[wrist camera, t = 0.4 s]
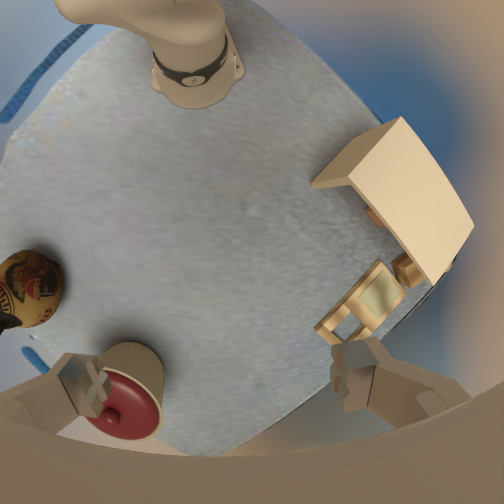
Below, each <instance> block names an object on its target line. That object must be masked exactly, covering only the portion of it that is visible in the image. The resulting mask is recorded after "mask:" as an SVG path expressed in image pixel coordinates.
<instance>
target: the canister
mask: <svg viewBox="0 0 504 504" xmlns="http://www.w3.org/2000/svg"><path fill="white" fill-rule="evenodd" d="M100 358H101V359H102V361H103V363H104V368H103V371H104V372H105V373H106V374H107V375H108V376H109V379H110V382H111V393H110V395H109V397H108V399H107V400H105V401H103V402H102V403H103V406H104V407H103V409H102V411H101V412H100V414H99V416H98V418H93V417H86V416H84V418H85V419H86V420H87V421H88V422H89V423H91V424H92V425H93V426H94V427H96V428H97V429H98V430H100V431H102V432H103V433H105V434H107V435H109V436H112V437H114V438H118V439H121V440H127V441H142V440H146V439H149V438H151V437H153V436H155V435H156V434H157V433H158V432H159V431H160V429H161V427H162V425H163V411H162V398H163V388H164V370H163V366H162V364H161V361H160V360H159V358H158V357H157V356H156V354H154V352H153V351H151V350H150V349H149V348H147V347H146V346H144V345H141V344H138V343H136V342H122V343H118V344H116V345H114V346H113V347H111V348H110V349H109V350H108V351H106V352H105V353H104V354H103V355H102V356H101V357H100Z"/></svg>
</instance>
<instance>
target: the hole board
mask: <svg viewBox="0 0 504 504" xmlns="http://www.w3.org/2000/svg"><path fill="white" fill-rule="evenodd" d="M406 294H407V293H406V291H405V290H404V289H403V287H402V286H401V285H400V284H399V282H398V281H397V280H396V279H395V277H394V276H393V275H392V274H391V272H390V271H389V270H388V269H387V268H386V266H385V265H384V264H383V263H382V262H381V261H379V260H376V261H375V263H374V264H373V265H372V266H371V267H370V268H369V270H368V271H367V272H366V273H365V274H364V275H363V276H362V277H361V279H360V280H359V281H358V282H357V283H356V284H355V285H354V286H353V287H352V289H351V290H350V291H349V292H348V293H347V294H346V295H345V296H344V297H343V298H342V299H341V301H340V302H339V303H338V304H337V305H336V306H335V307H334V308H333V309H332V310H331V311H330V312H329V313H328V314H327V315H326V316H325V317H324V318H323V319H322V320H321V321H320V322H319V323H318V324H317V325H316V326H315V327H314V329H315V331H316V332H317V333H318V334H319V335H321V336H322V337H323V338H324V339H325V340H326V341H328V342H329V343H330V344H331V345H334V344H339V343H345V342H350V341H355V340H360V339H364V338H368V337H369V336H370V335H371V333H372V332H373V331H374V330H375V329H376V328H377V327H378V326H379V325H380V324H381V323H382V322H383V320H384V319H385V318H386V317H387V316H388V315H389V314H390V313H391V311H392V310H393V309H394V308H395V307H396V306H397V304H398V303H399V302H400V301H401V300H402V299H403V297H404V296H405V295H406ZM350 311H351V312H352V313H353V314H354V315H355V316H356V317H357V318H358V319H359V320H360V321H361V322H362V324H361V325H360V326H359V328H358V329H357V330H356V331H355V332H354V333H353V334H352V335H351V336H350V337H349V338H348V339H347V340H346V341H345V342H343V341H342V340H341V339H339V338H338V337H337V336H336V335H335V334H334V333H333V332H332V330H333V329H334V328H335V327H336V326H337V325H338V324H339V323H340V322H341V321H342V320H343V319H344V318H345V316H346V315H347V314H348V313H349V312H350Z"/></svg>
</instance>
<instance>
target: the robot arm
mask: <svg viewBox="0 0 504 504" xmlns="http://www.w3.org/2000/svg"><path fill="white" fill-rule="evenodd" d="M54 3H55V6H56V8H57V9H58V11H59V12H60V13H61V15H62V16H63V17H65V18H66V19H67V20H69V21H71V22H73V23H75V24H105V25H111V26H115V27H119V28H123V29H126V30H128V31H131V32H133V33H136V34H138V35H140V36H141V37H143V38H144V39H146V40H147V42H148V43H149V45H150V46H151V48H152V49H153V55H154V57H153V58H152V63H153V64H154V68H153V69H152V72H153V73H152V78H151V87H152V89H153V90H155V91H158V92H160V93H163V94H164V95H165V96H166V97H167V98H168V99H169V100H170V101H171V102H172V103H174V104H176V105H178V106H180V107H183V108H188V109H199V108H204V107H208V106H211V105H213V104H215V103H217V102H218V101H220V100H221V99H222V98H223V97H224V96H225V95H226V94H227V93H228V92H229V90H230V88H231V87H232V85H233V84H234V83H235V82H236V81H238V80H239V79H241V78H242V77H243V76H244V74H245V70H244V67H243V65H242V62H241V60H240V57H239V55H238V52H237V50H236V47H235V45H234V42H233V40H232V37H231V35H230V32H229V30H228V28H227V25H226V24H225V13H224V11H223V9H222V7H221V6H220V4H219V3H218V2H217V1H216V0H54ZM236 67H239V68H236ZM331 356H332V358H333V360H334V362H333V363H332V364H331V365H330V378H331V384H332V387H333V390H334V391H335V392H337V393H338V399H337V400H338V402H339V405H340V407H341V410H342V412H349V411H354V410H359V409H364V408H367V409H368V410H370V411H371V412H373V413H374V414H375V415H377V416H379V417H380V418H382V419H383V420H385V421H386V422H388V423H389V424H391V425H392V426H394V427H395V428H396V429H393V430H390V431H387V432H383V433H380V434H376V435H373V436H369V437H365V438H362V439H357V440H353V441H349V442H344V443H340V444H335V445H330V446H325V447H320V448H313V449H307V450H300V451H293V452H285V453H276V454H265V455H251V456H226V457H225V456H223V457H205V456H178V455H164V454H152V453H144V452H136V451H129V450H121V449H116V448H110V447H105V446H100V445H95V444H90V443H85V442H82V441H77V440H73V439H70V438H66V437H62V436H58V435H55V434H56V433H58V432H59V431H60V430H62V429H63V428H64V427H66V426H67V425H68V424H70V423H71V422H72V421H74V420H75V419H76V418H77V417H79V415H80V416H86V417H93V418H98V416H99V414H100V412H101V411H102V409H103V407H104V406H103V403H102V402H103V401H105V400H107V399H108V397H109V395H110V393H111V382H110V379H109V376H108V375H107V374H106V373H105V372H104V371H103V368H104V363H103V361H102V359H101V358H100V357H99V356H97V355H86V354H76V353H64V354H63V356H62V357H61V358H60V359H59V360H58V361H57V362H56V363H55V365H54V366H53V367H52V368H51V369H50V370H49V371H48V372H47V374H42V375H40V376H37V377H35V378H33V379H31V380H28V381H26V382H24V383H22V384H20V385H17V386H15V387H13V388H11V389H8V390H6V391H3V392H2V393H0V504H504V381H503V382H501V383H500V384H498V385H496V386H494V387H493V388H491V389H489V390H487V391H485V392H483V393H481V394H479V395H477V396H475V397H474V398H471V397H470V395H468V393H467V392H466V391H465V390H464V389H463V388H462V387H461V386H460V384H459V383H458V382H457V381H456V380H455V379H452V378H449V377H446V376H443V375H440V374H437V373H434V372H432V371H429V370H426V369H423V368H420V367H417V366H415V365H412V364H409V363H406V362H403V361H400V360H394V359H393V358H392V357H391V355H390V354H389V353H388V352H387V350H386V349H385V348H384V347H383V345H382V344H381V343H380V341H379V340H378V339H377V338H376V337H374V336H373V337H368V338H364V339H360V340H355V341H350V342H345V343H339V344H334V345H332V350H331Z"/></svg>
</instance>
